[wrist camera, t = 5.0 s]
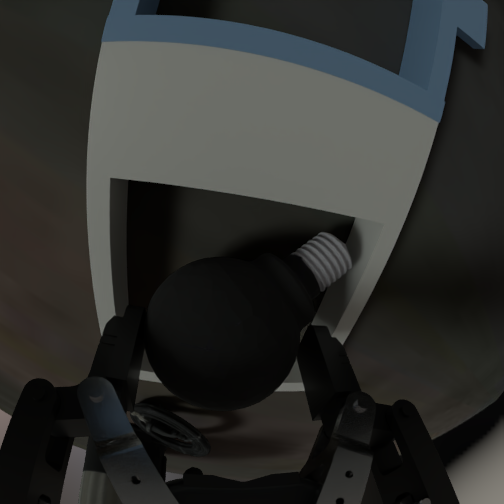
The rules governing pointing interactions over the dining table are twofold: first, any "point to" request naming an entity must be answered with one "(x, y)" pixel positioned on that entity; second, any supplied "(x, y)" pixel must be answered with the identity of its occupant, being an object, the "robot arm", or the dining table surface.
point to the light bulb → (237, 322)
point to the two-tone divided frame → (266, 132)
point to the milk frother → (155, 443)
